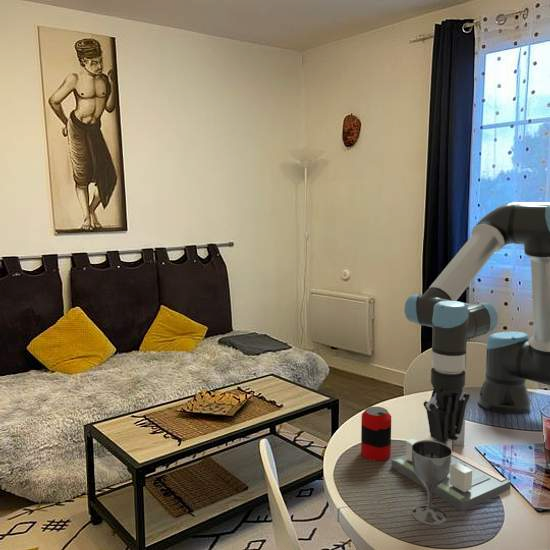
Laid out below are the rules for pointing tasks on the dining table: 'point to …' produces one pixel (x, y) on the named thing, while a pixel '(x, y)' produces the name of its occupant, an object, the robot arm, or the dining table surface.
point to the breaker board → (482, 487)
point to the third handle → (461, 477)
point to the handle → (409, 448)
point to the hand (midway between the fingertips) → (444, 464)
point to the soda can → (376, 434)
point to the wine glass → (430, 476)
